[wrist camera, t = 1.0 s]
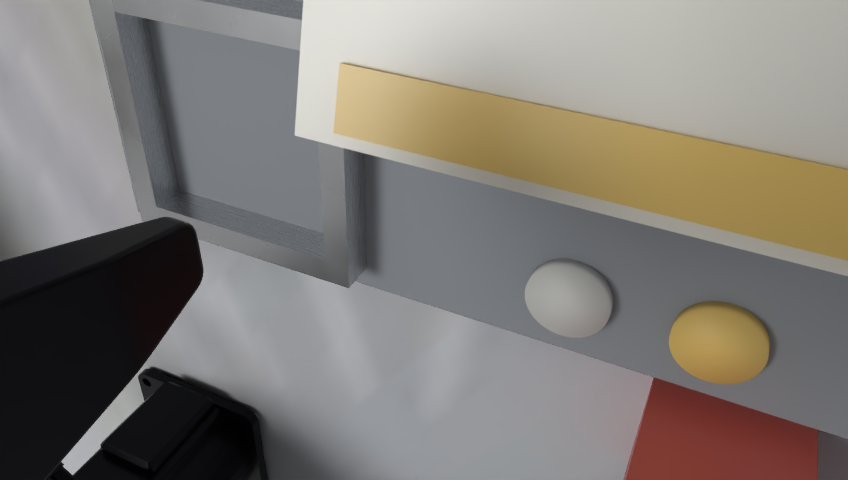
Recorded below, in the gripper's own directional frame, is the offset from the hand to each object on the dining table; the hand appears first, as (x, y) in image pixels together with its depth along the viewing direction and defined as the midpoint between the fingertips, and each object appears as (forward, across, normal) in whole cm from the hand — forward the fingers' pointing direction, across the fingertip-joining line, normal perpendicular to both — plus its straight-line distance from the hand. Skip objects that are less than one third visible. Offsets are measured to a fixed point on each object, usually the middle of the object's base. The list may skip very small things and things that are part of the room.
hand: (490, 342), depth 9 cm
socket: (+10, +11, +4) cm, 15 cm away
